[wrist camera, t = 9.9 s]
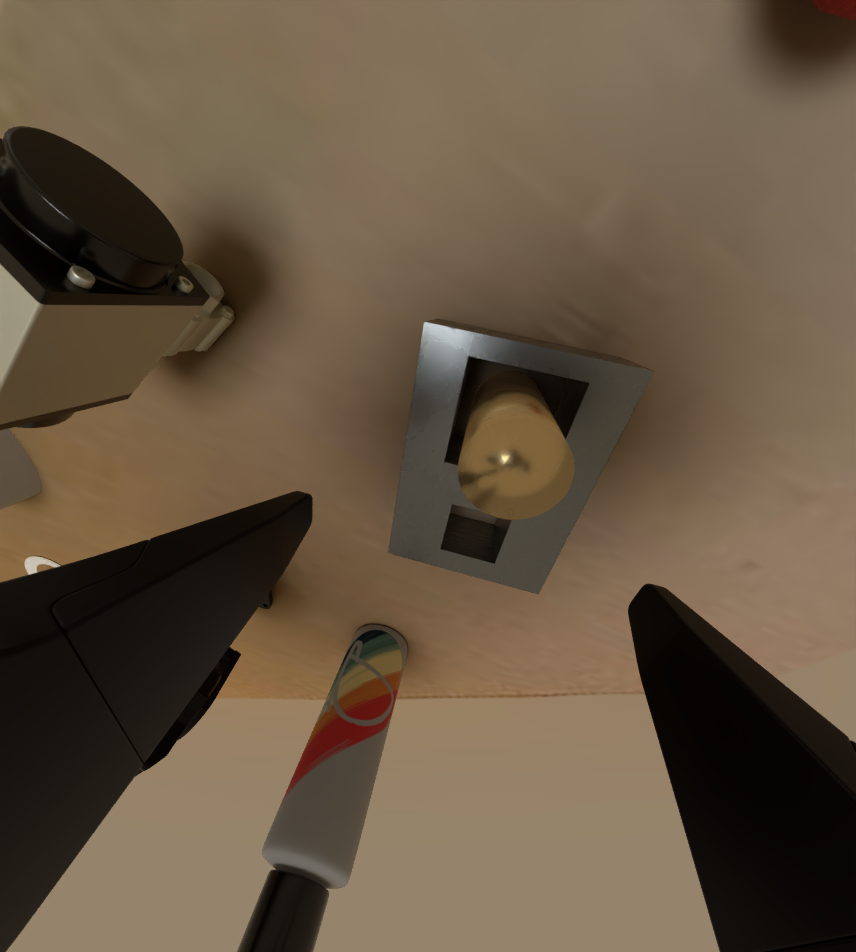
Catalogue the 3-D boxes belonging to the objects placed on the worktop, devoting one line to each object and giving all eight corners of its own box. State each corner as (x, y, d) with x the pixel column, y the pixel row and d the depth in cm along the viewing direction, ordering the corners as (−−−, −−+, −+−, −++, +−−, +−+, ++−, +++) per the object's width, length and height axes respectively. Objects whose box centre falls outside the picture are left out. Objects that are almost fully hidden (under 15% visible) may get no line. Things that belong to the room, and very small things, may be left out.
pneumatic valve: (288, 283, 18) (10, 250, 8) (186, 392, 23) (-74, 464, 12) (215, 182, 17) (-260, -31, 6) (121, 322, 21) (-239, 337, 11)
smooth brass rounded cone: (528, 443, 20) (549, 531, 12) (466, 428, 20) (447, 504, 12) (551, 379, 18) (594, 434, 10) (482, 363, 18) (472, 406, 10)
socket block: (532, 552, 24) (538, 594, 20) (403, 518, 24) (388, 552, 21) (621, 358, 17) (653, 371, 13) (438, 318, 18) (424, 321, 14)
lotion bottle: (382, 615, 30) (231, 1027, 13) (420, 651, 32) (329, 1063, 14) (344, 632, 33) (173, 999, 15) (380, 664, 34) (262, 1032, 17)
